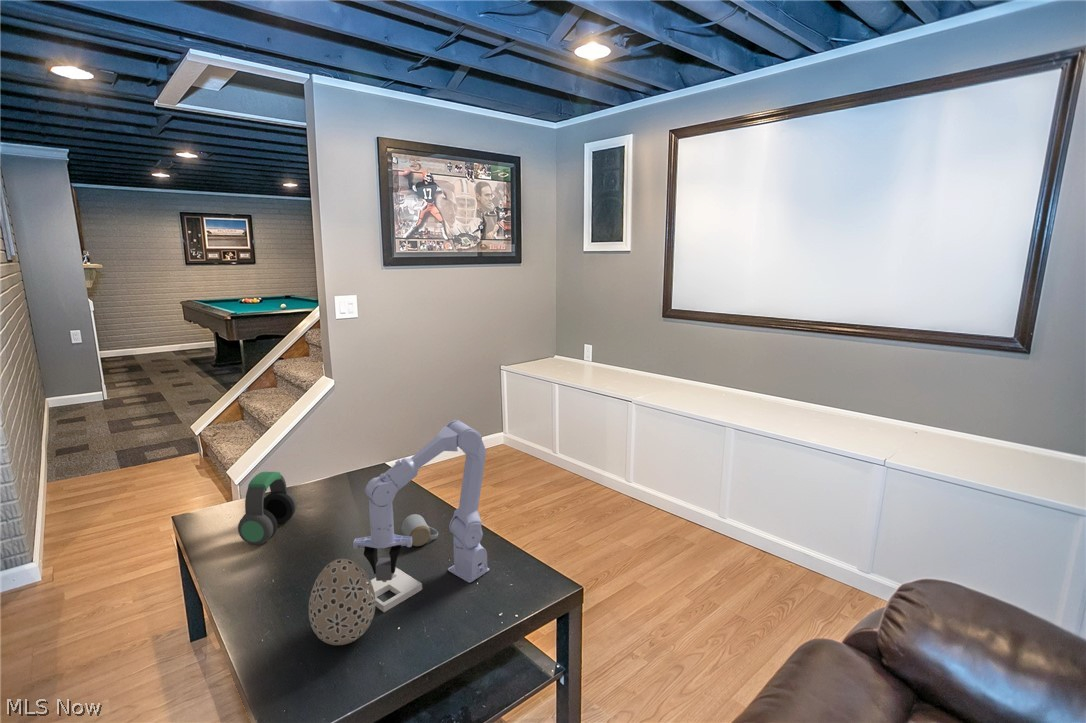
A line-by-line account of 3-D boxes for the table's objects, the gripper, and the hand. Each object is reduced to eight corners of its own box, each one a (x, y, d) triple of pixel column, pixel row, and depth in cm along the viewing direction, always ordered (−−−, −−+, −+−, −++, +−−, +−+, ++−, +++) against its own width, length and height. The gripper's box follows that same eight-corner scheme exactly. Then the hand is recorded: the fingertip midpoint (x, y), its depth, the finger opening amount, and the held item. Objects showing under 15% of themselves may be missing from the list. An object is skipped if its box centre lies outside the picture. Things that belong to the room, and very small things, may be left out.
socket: (422, 589, 143) (421, 582, 142) (384, 612, 134) (383, 605, 133) (395, 572, 150) (395, 566, 150) (358, 593, 141) (357, 586, 141)
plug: (394, 574, 140) (393, 557, 139) (391, 583, 136) (390, 565, 135) (379, 575, 140) (378, 557, 139) (376, 583, 136) (375, 566, 135)
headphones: (271, 547, 163) (265, 487, 158) (236, 547, 163) (229, 487, 159) (300, 517, 181) (295, 463, 177) (269, 517, 181) (263, 462, 177)
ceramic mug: (409, 550, 161) (409, 528, 160) (401, 538, 168) (400, 516, 166) (442, 541, 167) (441, 519, 165) (432, 530, 174) (432, 508, 172)
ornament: (356, 608, 135) (350, 537, 131) (389, 634, 126) (385, 559, 122) (300, 640, 124) (292, 564, 120) (332, 671, 115) (325, 589, 111)
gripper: (413, 515, 139) (415, 561, 142) (357, 516, 138) (360, 563, 141) (408, 528, 132) (411, 577, 135) (349, 530, 131) (353, 579, 134)
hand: (384, 571), depth 137 cm, fingers closed on plug, 4 cm apart
